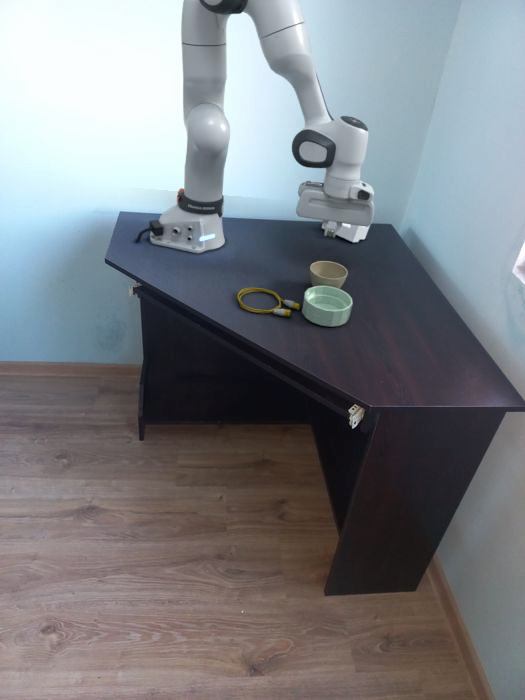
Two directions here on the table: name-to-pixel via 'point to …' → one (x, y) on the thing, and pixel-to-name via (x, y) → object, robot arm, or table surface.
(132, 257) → the table surface
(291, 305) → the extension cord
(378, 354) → the table surface
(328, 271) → the flower pot
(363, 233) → the bracket
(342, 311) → the bowl
